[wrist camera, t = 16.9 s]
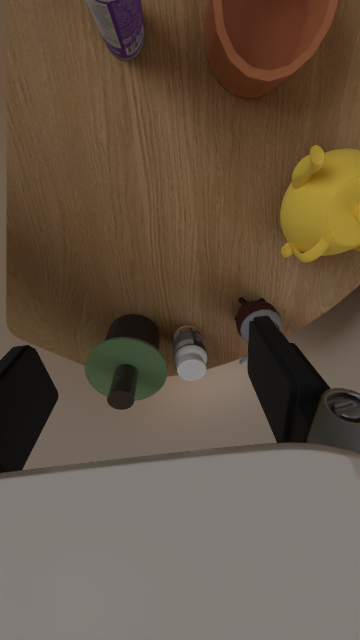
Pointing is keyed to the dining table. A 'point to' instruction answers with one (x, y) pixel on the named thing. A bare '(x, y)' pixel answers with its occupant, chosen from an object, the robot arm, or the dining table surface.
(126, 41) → the container
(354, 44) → the dining table surface
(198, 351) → the pill bottle
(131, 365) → the lid
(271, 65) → the bowl
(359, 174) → the teapot
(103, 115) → the dining table surface
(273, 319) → the mate gourd
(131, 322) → the cup
